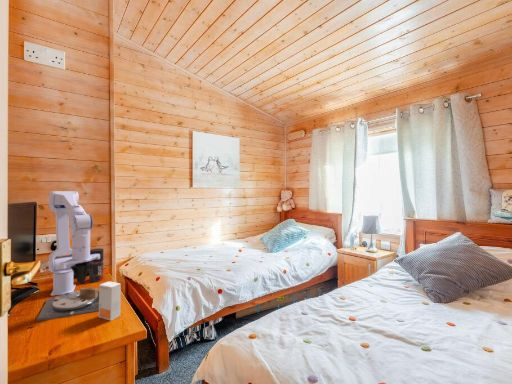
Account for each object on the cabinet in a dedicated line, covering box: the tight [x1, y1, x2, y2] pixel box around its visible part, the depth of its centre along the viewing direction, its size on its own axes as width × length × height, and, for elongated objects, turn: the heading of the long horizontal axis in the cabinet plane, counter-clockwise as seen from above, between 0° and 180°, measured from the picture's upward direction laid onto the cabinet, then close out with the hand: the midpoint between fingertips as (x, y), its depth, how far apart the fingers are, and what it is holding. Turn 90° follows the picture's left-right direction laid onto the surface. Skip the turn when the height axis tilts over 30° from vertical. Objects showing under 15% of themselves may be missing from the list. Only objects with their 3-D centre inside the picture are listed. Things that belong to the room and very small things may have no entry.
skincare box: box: [98, 280, 122, 322], centre depth 97 cm, size 6×4×12 cm
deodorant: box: [88, 247, 104, 283], centre depth 133 cm, size 6×6×15 cm
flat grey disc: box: [53, 287, 99, 311], centre depth 105 cm, size 16×14×6 cm
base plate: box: [36, 290, 99, 322], centre depth 105 cm, size 19×20×1 cm
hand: (81, 282), depth 102 cm, fingers closed
